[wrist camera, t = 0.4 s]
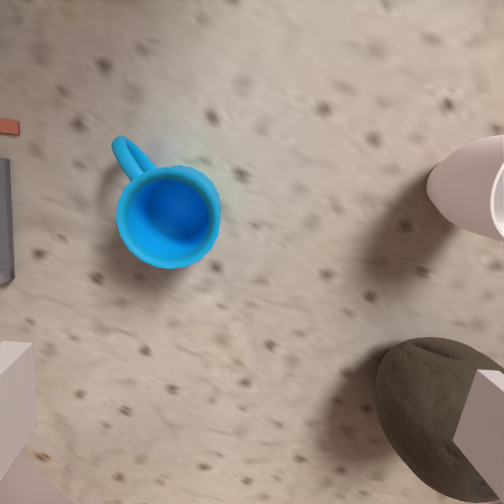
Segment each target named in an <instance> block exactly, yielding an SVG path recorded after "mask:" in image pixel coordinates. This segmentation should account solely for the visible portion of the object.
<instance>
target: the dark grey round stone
mask: <svg viewBox="0 0 504 504" xmlns="http://www.w3.org/2000/svg"><path fill="white" fill-rule="evenodd" d="M477 370H494V371H500V372H501V373H503V374H504V369H503V368H502V367H501V366H500V365H498V364H497V363H496V362H495V361H493V360H492V359H490V358H489V357H487V356H486V355H484V354H482V353H480V352H478V351H476V350H475V349H473V348H472V347H470V346H468V345H466V344H463V343H460V342H457V341H454V340H449V339H445V338H435V337H426V338H415V339H411V340H407V341H405V342H403V343H401V344H399V345H397V346H395V347H393V348H392V349H390V350H389V351H388V352H387V353H386V354H385V356H384V357H383V359H382V361H381V363H380V365H379V367H378V370H377V375H376V381H375V403H376V409H377V413H378V417H379V420H380V423H381V426H382V428H383V430H384V432H385V435H386V436H387V438H388V440H389V442H390V443H391V445H392V446H393V448H394V450H395V451H396V452H397V454H398V455H399V456H400V458H401V459H402V460H403V461H404V462H405V463H406V464H407V466H408V467H409V468H410V469H411V470H412V471H413V472H414V473H415V475H416V476H417V477H418V478H419V479H420V480H422V481H423V482H424V483H425V484H426V485H428V486H429V487H431V488H432V489H434V490H436V491H437V492H439V493H441V494H443V495H445V496H448V497H451V498H454V499H457V500H460V501H465V502H473V503H483V502H491V501H496V500H499V499H500V498H499V497H498V496H497V495H496V493H495V492H494V491H493V490H492V488H491V487H490V486H489V485H488V484H487V482H486V481H485V480H484V479H483V477H482V476H481V475H480V474H479V472H478V471H477V470H476V469H475V468H474V466H473V465H472V464H471V463H470V461H469V460H468V459H467V458H466V456H465V455H464V454H463V453H462V451H461V450H460V449H459V448H458V447H457V445H456V444H455V443H454V442H453V438H454V435H455V432H456V429H457V427H458V424H459V421H460V418H461V415H462V412H463V409H464V406H465V403H466V400H467V397H468V394H469V391H470V389H471V386H472V383H473V380H474V377H475V374H476V371H477Z"/></svg>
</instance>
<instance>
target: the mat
mask: <svg viewBox="0 0 504 504" xmlns="http://www.w3.org/2000/svg"><path fill="white" fill-rule="evenodd" d="M13 278H15V276H14V253H13V230H12V207H11V184H10V161H9V159H1V158H0V284H5V283H6V282H8V281H10V280H12V279H13Z"/></svg>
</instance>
